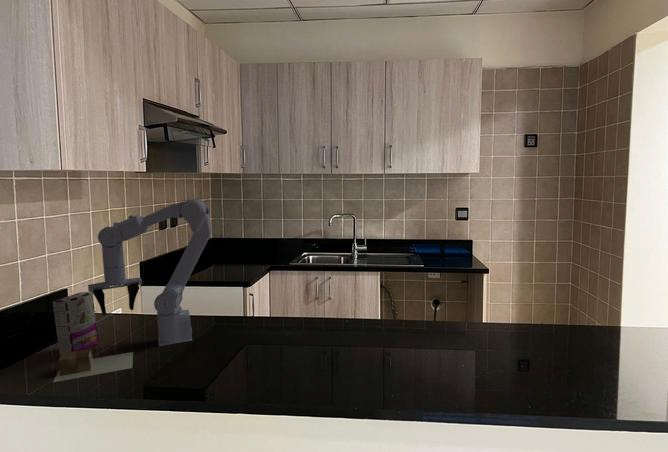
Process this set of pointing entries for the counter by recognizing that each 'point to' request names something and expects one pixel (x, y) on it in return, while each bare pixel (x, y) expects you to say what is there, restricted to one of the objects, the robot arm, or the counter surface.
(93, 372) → the cream board
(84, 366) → the walnut block
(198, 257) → the robot arm
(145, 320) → the counter surface
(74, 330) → the candy bar box
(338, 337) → the counter surface
